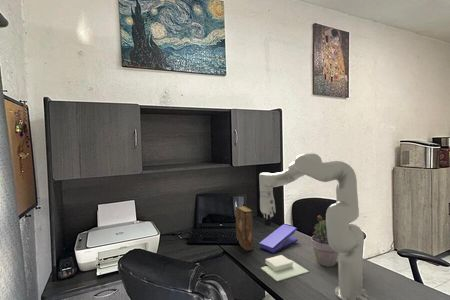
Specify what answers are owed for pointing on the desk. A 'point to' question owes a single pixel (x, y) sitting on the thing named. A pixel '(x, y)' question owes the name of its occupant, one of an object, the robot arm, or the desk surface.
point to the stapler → (279, 238)
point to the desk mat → (285, 272)
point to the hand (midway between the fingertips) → (267, 225)
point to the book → (244, 227)
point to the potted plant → (323, 245)
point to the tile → (279, 263)
